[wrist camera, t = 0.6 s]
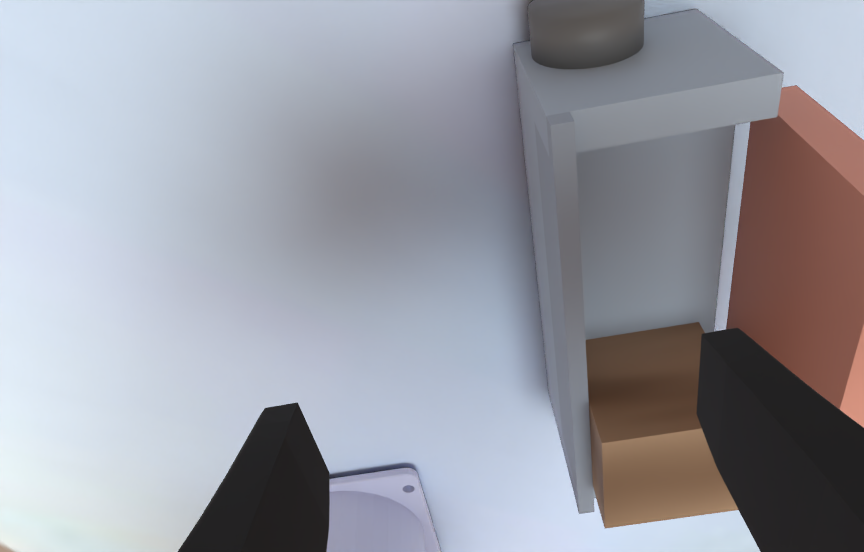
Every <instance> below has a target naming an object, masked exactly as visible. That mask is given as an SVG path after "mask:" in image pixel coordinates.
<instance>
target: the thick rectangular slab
mask: <svg viewBox="0 0 864 552" xmlns="http://www.w3.org/2000/svg"><path fill="white" fill-rule="evenodd" d="M733 328H739V329H740V330H742V331H743V332H744V333H746V334H747V335H748V336H749V337H750V338H752V339H753V340H754V341H755V342H756V343H758V344H759V345H760V346H761V347H762V348H763V349H765V350H766V351H767V352H768V353H769V354H771V355H772V356H773V357H774V358H775V359H777V360H778V361H779V362H780V363H781V364H783V365H784V366H785V367H786V368H788V369H789V370H790V371H791V372H792V373H794V374H795V375H796V376H797V377H799V378H800V379H801V380H802V381H804V382H805V383H806V384H807V385H809V386H810V387H811V388H812V389H814V390H815V391H816V392H817V393H819V394H820V395H821V396H823V397H824V398H825V399H826V400H828V401H829V402H830V403H832V404H833V405H834V406H836V407H837V408H838V409H840V410H841V411H842V412H844V413H845V414H846V415H847V416H849V417H850V418H851V419H853V420H854V421H855V422H857V423H858V424H860V425H861V426H862V427H864V140H863V139H861V138H860V137H859V136H858V135H857V134H855V133H854V132H853V131H852V130H850V129H849V128H848V127H847V126H846V125H844V124H843V123H842V122H841V121H839V120H838V119H837V118H836V117H834V116H833V115H832V114H831V113H830V112H828V111H827V110H826V109H825V108H823V107H822V106H821V105H820V104H819V103H817V102H816V101H815V100H814V99H812V98H811V97H810V96H809V95H808V94H806V93H805V92H804V91H803V90H801V89H800V88H799V87H798V86H797V85H795V86H789V87H783V88H781V95H780V102H779V109H778V116H777V117H775V118H769V119H763V120H758V121H752V122H750V131H749V139H748V148H747V156H746V165H745V173H744V182H743V190H742V199H741V207H740V216H739V224H738V233H737V241H736V250H735V258H734V267H733V275H732V284H731V292H730V301H729V309H728V318H727V326H726V330H727V329H733Z"/></svg>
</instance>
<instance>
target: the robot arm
mask: <svg viewBox="0 0 864 552" xmlns="http://www.w3.org/2000/svg"><path fill="white" fill-rule="evenodd" d="M696 414H697V417H698V419H699V422H700V425H701V428H702V430H703V433H704V436H705V438H706V441H707V444H708V446H709V449H710V451H711V454H712V457H713V459H714V462H715V464H716V467H717V469H718V471H719V473H720V475H721V477H722V479H723V481H724V483H725V484H726V486H727V488H728V490H729V492H730V494H731V496H732V498H733V500H734V502H735V504H736V506H737V508H738V509H739V511H740V513H741V515H742V517H743V519H744V521H745V523H746V525H747V527H748V528H749V530H750V532H751V534H752V536H753V538H754V540H755V542H756V544H757V546H758V547H759V549H760V551H761V552H864V427H862V426H861V425H860V424H858V423H857V422H855V421H854V420H853V419H851V418H850V417H849V416H847V415H846V414H845V413H844V412H842V411H841V410H840V409H838V408H837V407H836V406H834V405H833V404H832V403H830V402H829V401H828V400H826V399H825V398H824V397H823V396H821V395H820V394H819V393H817V392H816V391H815V390H814V389H812V388H811V387H810V386H809V385H807V384H806V383H805V382H804V381H802V380H801V379H800V378H799V377H797V376H796V375H795V374H794V373H792V372H791V371H790V370H789V369H788V368H786V367H785V366H784V365H783V364H781V363H780V362H779V361H778V360H777V359H775V358H774V357H773V356H772V355H771V354H769V353H768V352H767V351H766V350H765V349H763V348H762V347H761V346H760V345H759V344H758V343H756V342H755V341H754V340H753V339H752V338H750V337H749V336H748V335H747V334H746V333H744V332H743V331H742V330H740V329H739V328H733V329H727V330H721V331H715V332H709V333H703V334H702V335H701V351H700V366H699V382H698V397H697V413H696ZM178 552H441V549H440V546H439V543H438V540H437V536H436V533H435V530H434V526H433V523H432V520H431V516H430V513H429V510H428V507H427V503H426V500H425V497H424V493H423V490H422V487H421V483H420V480H419V477H418V474H417V472H416V471H415V470H413V469H411V468H400V469H393V470H386V471H380V472H373V473H366V474H359V475H353V476H346V477H339V478H332V479H329V471H328V469H327V467H326V464H325V462H324V460H323V458H322V455H321V453H320V451H319V449H318V447H317V444H316V442H315V440H314V438H313V436H312V433H311V431H310V429H309V427H308V425H307V422H306V420H305V418H304V416H303V414H302V411H301V409H300V407H299V405H298V403H292V404H286V405H281V406H275V407H269V408H265V409H264V411H263V412H262V413H261V415H260V417H259V418H258V420H257V422H256V424H255V425H254V427H253V429H252V431H251V433H250V434H249V436H248V438H247V440H246V441H245V443H244V445H243V447H242V449H241V450H240V452H239V454H238V456H237V457H236V459H235V461H234V462H233V464H232V466H231V468H230V469H229V471H228V473H227V475H226V476H225V478H224V480H223V481H222V483H221V485H220V486H219V488H218V490H217V491H216V493H215V494H214V496H213V498H212V499H211V501H210V503H209V504H208V506H207V508H206V509H205V511H204V513H203V514H202V516H201V517H200V519H199V520H198V522H197V524H196V525H195V527H194V528H193V530H192V531H191V533H190V534H189V536H188V537H187V539H186V540H185V542H184V543H183V545H182V546H181V548H180V549H179V551H178Z"/></svg>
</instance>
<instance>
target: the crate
mask: <svg viewBox="0 0 864 552" xmlns="http://www.w3.org/2000/svg"><path fill="white" fill-rule="evenodd" d="M703 333H705V332H704V330H703V329H702V327H701V325H700V323H699V322H695V323H689V324H683V325H676V326H670V327H664V328H658V329H651V330H645V331H639V332H632V333H626V334H620V335H613V336H607V337H601V338H595V339H588V340H586V359H587V378H588V398H589V418H590V437H591V457H592V477H593V488H594V491H595V495H596V499H597V502H598V506H599V509H600V513H601V516H602V520H603V523H604V527H605V528H611V527H618V526H625V525H633V524H640V523H647V522H654V521H661V520H669V519H676V518H683V517H690V516H697V515H704V514H712V513H719V512H726V511H733V510H739V509H738V508H737V506H736V504H735V502H734V500H733V498H732V496H731V494H730V492H729V490H728V488H727V486H726V484H725V483H724V481H723V479H722V477H721V475H720V473H719V471H718V469H717V467H716V464H715V462H714V459H713V457H712V454H711V451H710V449H709V446H708V444H707V441H706V438H705V436H704V433H703V430H702V428H701V425H700V422H699V419H698V417H697V414H696V413H697V397H698V382H699V366H700V351H701V335H702V334H703Z"/></svg>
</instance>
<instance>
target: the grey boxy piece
mask: <svg viewBox="0 0 864 552" xmlns="http://www.w3.org/2000/svg"><path fill="white" fill-rule="evenodd" d="M528 20H529V31H530V41H525V42H520V43H515V44H513V48H514V58H515V67H516V77H517V87H518V97H519V107H520V116H521V126H522V136H523V146H524V156H525V165H526V175H527V185H528V195H529V205H530V215H531V224H532V234H533V244H534V254H535V264H536V273H537V283H538V293H539V303H540V313H541V322H542V332H543V342H544V352H545V362H546V371H547V381H548V391H549V396H550V400H551V404H552V408H553V412H554V416H555V420H556V424H557V428H558V432H559V436H560V440H561V444H562V448H563V451H564V455H565V459H566V463H567V467H568V471H569V475H570V479H571V483H572V487H573V491H574V495H575V499H576V503H577V507H578V511H579V514H582V513H589V512H594V498H596V495H595V491H594V488H593V477H592V457H591V437H590V418H589V398H588V378H587V359H586V340H588V339H595V338H601V337H607V336H613V335H620V334H626V333H632V332H639V331H645V330H651V329H658V328H664V327H670V326H676V325H683V324H689V323H695V322H699V323H700V325H701V327H702V329H703V330H704V332H705V333H709V332H714V324H715V315H716V305H717V295H718V286H719V276H720V266H721V256H722V247H723V237H724V227H725V218H726V208H727V198H728V189H729V179H730V169H731V159H732V150H733V140H734V130H735V124H741V123H747V122H752V121H758V120H763V119H769V118H775V117H777V116H778V109H779V102H780V95H781V88H782V81H783V74H784V73H783V72H782V71H781V70H779V69H778V68H777V67H775V66H774V65H773V64H771V63H770V62H769V61H767V60H766V59H764V58H763V57H762V56H760V55H759V54H758V53H756V52H755V51H754V50H752V49H751V48H749V47H748V46H747V45H745V44H744V43H743V42H741V41H740V40H739V39H737V38H736V37H734V36H733V35H732V34H730V33H729V32H728V31H726V30H725V29H724V28H722V27H721V26H719V25H718V24H717V23H715V22H714V21H713V20H711V19H710V18H709V17H707V16H706V15H705V14H703V13H702V12H700V11H699V10H698V9H693V10H688V11H683V12H677V13H672V14H667V15H662V16H656V17H651V18H646V19H644V0H533V1H532V2H531V3H530V4H529V5H528Z"/></svg>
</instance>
